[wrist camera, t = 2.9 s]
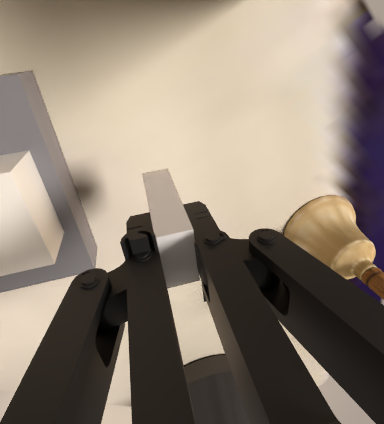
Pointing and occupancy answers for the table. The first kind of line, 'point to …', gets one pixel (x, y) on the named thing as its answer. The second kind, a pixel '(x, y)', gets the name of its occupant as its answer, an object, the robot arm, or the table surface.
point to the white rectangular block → (25, 217)
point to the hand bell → (336, 239)
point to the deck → (44, 178)
